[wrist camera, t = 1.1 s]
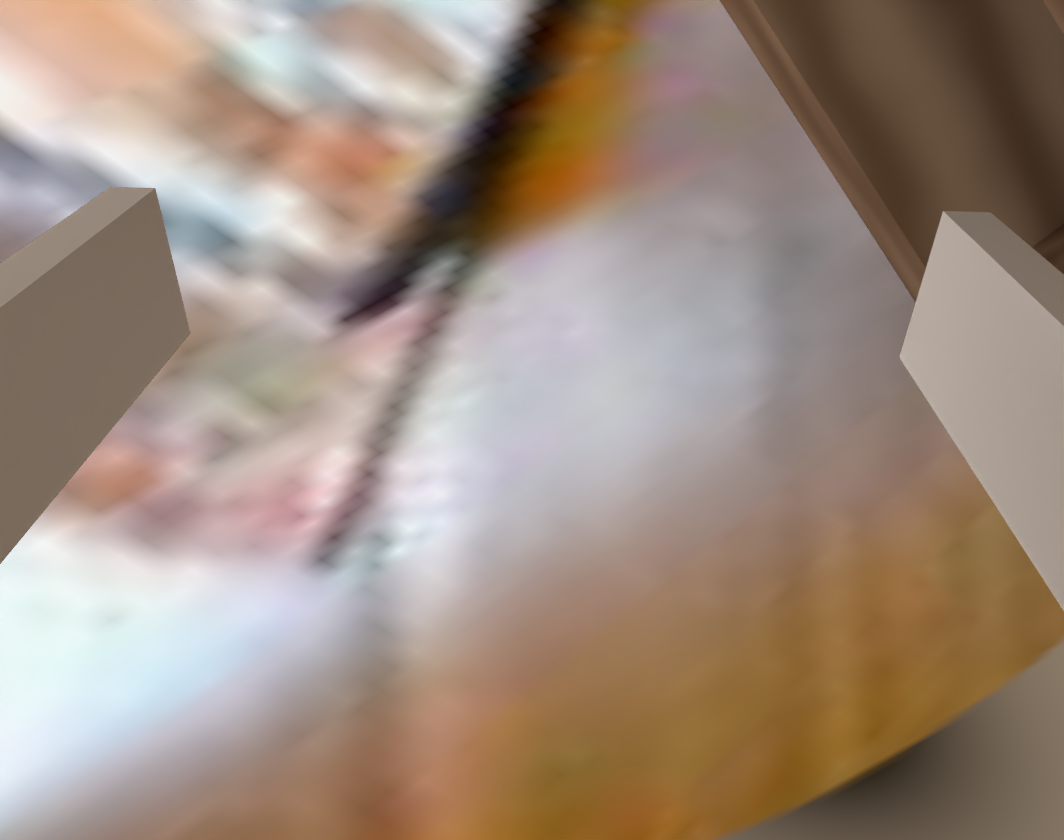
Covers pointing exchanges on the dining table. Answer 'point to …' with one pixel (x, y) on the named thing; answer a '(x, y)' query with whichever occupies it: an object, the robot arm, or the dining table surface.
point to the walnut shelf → (926, 110)
